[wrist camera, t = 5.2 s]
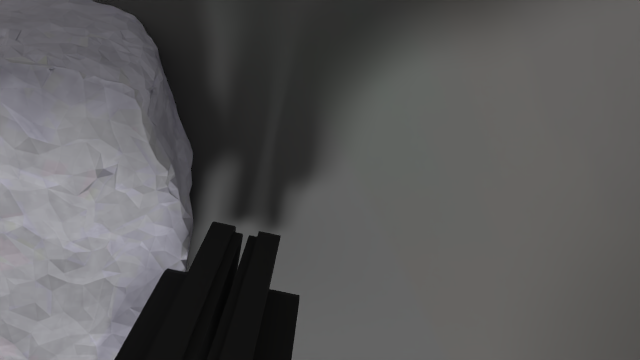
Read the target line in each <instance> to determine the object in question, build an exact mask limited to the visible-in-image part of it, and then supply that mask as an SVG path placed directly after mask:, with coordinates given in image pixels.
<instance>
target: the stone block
mask: <svg viewBox="0 0 640 360" xmlns="http://www.w3.org/2000/svg"><path fill="white" fill-rule="evenodd" d="M192 161H193V151H192V149H191V144H190V142H189V140H188V138H187V136H186V133H185V131H184V128H183V126H182V123H181V121H180V118H179V115H178V112H177V108H176V104H175V102H174V98H173V95H172V92H171V90H170V87H169V85H168V82H167V78H166V76H165V75H164V72H163V68H162V65H161V61H160V58H159V53H158V48H157V46H156V45H155V43H154V42H153V40H152V38H151V37H150V36H148V34H147V32H146V30H145V29H144V27H143V25H142V24H141V23H140V21H139V20H138V19H137V18H136V17H135V16H134V15H132V14H129V13H127V12H124V11H122V10H120V9H118V8H116V7H114V6H111V5H106V4H101V3H97V2H95V1H92V0H0V360H114V359H115V357H116V356H117V354H118V352H119V350H120V348H121V347H122V345H123V343H124V341H125V340H126V338H127V336H128V334H129V332H130V331H131V329H132V327H133V325H134V324H135V322H136V320H137V318H138V316H139V315H140V313H141V311H142V309H143V308H144V306H145V304H146V302H147V300H148V299H149V297H150V295H151V293H152V292H153V290H154V288H155V286H156V284H157V283H158V281H159V279H160V277H161V276H162V274H163V273H164V271H165V270H166V269H167V268H169V269H173V270H178V271H183V272H185V271H186V267H187V256H188V251H189V247H190V242H191V237H192V232H193V215H192V208H191V203H190V197H189V193H190V190H191V186H192V177H191V166H192Z"/></svg>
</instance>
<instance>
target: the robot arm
mask: <svg viewBox="0 0 640 360" xmlns="http://www.w3.org/2000/svg"><path fill="white" fill-rule="evenodd" d="M235 231H236V227H235V226H232V225H227V224H223V223H218V222H213V223H212V224H211V226H210V228H209V230H208V232H207V235H206V237H205V239H204V241H203V243H202V245H201V247H200V249H199V251H198V253H197V255H196V257H195V259H194V261H193V263H192V265H191V267H190V269H189V271H188V272H183V271H178V270H173V269H169V268H167V269H166V270H165V271H164V273H163V274H162V276H161V277H160V279H159V281H158V283H157V284H156V286H155V288H154V290H153V292H152V293H151V295H150V297H149V299H148V300H147V302H146V304H145V306H144V308H143V309H142V311H141V313H140V315H139V316H138V318H137V320H136V322H135V324H134V325H133V327H132V329H131V331H130V332H129V334H128V336H127V338H126V340H125V341H124V343H123V345H122V347H121V348H120V350H119V352H118V354H117V356H116V357H115V359H114V360H291V357H292V350H293V343H294V335H295V328H296V321H297V313H298V306H299V295H295V294H290V293H286V292H281V291H276V290H271V289H269V287H270V282H271V278H272V273H273V269H274V264H275V259H276V255H277V250H278V246H279V241H280V236H279V235H274V234H270V233H265V232H260V231H259V233H258V236H257V237H255V236H250V235H249V237H248V240H247V243H246V246H245V249H244V252H243V255H242V258H241V261H240V264H239V267H238V262H239V256H240V250H241V244H242V237H243V234H241V233H236V232H235ZM237 268H238V270H237Z"/></svg>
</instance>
